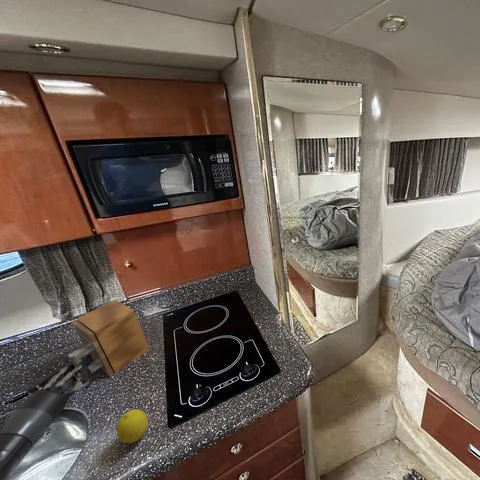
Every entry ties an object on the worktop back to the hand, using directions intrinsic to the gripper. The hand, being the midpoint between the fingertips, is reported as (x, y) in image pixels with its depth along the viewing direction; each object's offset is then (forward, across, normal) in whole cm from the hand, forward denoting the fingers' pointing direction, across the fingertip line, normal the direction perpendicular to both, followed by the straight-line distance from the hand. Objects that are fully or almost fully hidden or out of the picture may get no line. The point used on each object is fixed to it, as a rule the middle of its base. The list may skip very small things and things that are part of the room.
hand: (84, 358), depth 70 cm
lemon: (-20, -20, +8) cm, 30 cm away
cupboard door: (+2, +2, +8) cm, 8 cm away
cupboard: (+8, -4, +8) cm, 12 cm away
